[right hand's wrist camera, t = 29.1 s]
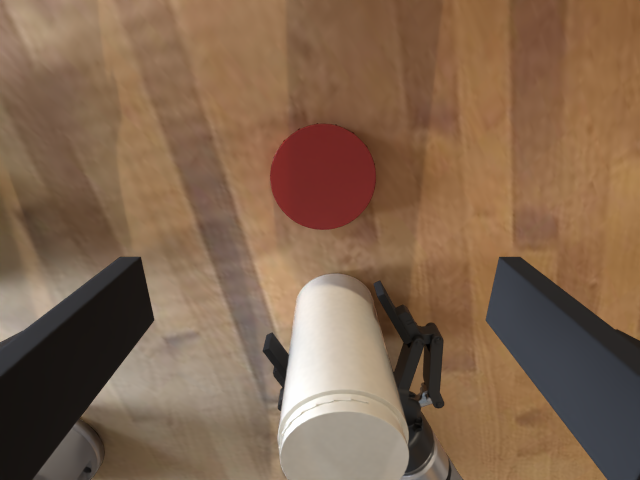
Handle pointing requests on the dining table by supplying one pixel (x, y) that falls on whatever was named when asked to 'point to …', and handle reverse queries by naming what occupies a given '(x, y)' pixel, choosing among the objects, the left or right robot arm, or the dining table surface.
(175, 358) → the dining table surface
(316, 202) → the lid
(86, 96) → the dining table surface
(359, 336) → the jar
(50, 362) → the right robot arm
